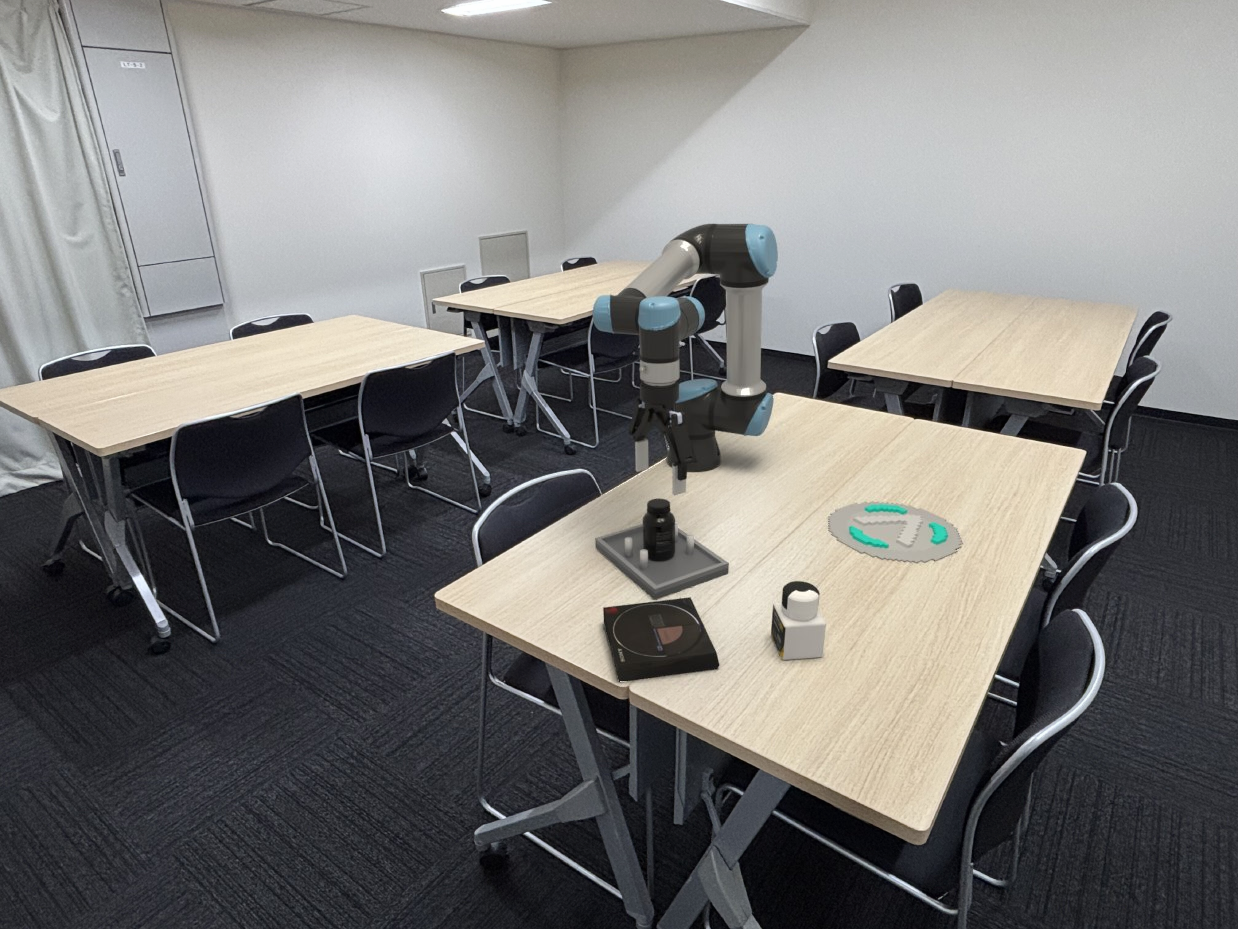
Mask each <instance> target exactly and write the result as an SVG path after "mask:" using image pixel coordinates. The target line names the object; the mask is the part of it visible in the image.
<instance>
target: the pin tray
mask: <svg viewBox="0 0 1238 929" xmlns="http://www.w3.org/2000/svg"><path fill="white" fill-rule="evenodd" d="M594 543H595V545H594V546H595V549H596V550H597V551H598V552H599V553H601V554H602V556H604V557H605V558H606V559H608V561H610V562H611V563H612V564H613V565H614V566H615V567H617V569H619V570H620V571H621V572H622V573H624V574H625V576H627V577H628V578H629V579H630V580H631V581H632V582H633V583H635V584H636V585H637V586H638V587H639V588H640V589H641V590H643V592H645V593H646V594H647V595H649V596H650V597H651V598H652V599H653V601H654V600H655V601H658V600H660V599H662V598H664V597H668V596H670V595H673V594H677V593H679V592H681V591H685V590H687V589H690V588H693V587H695V586H697V585H701V584H704V583H707V582H709V581H713V580H715V579H717V578H720V577H723V576H726V575H728V574H729V568H730V564H729V562H728V561H727V560H725V559H724V558H722V557H721V556H720V555H718V554H716V553H715V552H714V551H713V550H711V549H709V548H708V547H706V546H705V545H703V543H701V542H699V541H698V540H697V539H696V538H695V535H694V534H692V533H691V534H690V533H689V534H688V533H686V532H685V531H684V530H682V529H680V528H679V525H678V523H676V522H675V554H674V556H673V557H672V558H670V559H668V560H664V561H654V560H651V559H648V551H647V550H646V549H643V523H641V524H637V525H634V526H631V527H627V528H624V529H621V530H618V531H617V530H616V531H614V532H611V533H607V534H604V535H601V536H598V537H595V538H594Z"/></svg>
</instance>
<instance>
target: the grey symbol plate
mask: <svg viewBox="0 0 1238 929" xmlns="http://www.w3.org/2000/svg"><path fill="white" fill-rule="evenodd" d="M827 522H828V523H827V530H828V532H829V533H830V535H831V536H832V537H834V538H836V541H837V542H839V543H841V544H843V545H844V546H846V547H848V548H851V549H852V550H853V551H855V552H857V553H859V554H861V555H862V554H866V555H868V556H869V557H870V558H873V559H874V558H877V559H879V560H881V561H882V560H886V561H889V560H890V561H892V562H895V561H897V562H903V563H906V562H908V563H910V564H911V563H914V564H918V563H924V564H926V563H928V562H930V561H934V562H937V561H940V560H942V559H945V558H947V557H950V556H952V555H955V554H957V553H958V552H959V551H958V550H959V549H961V548H962V545H964V542H963V540H962V537H961V535H960V532H959V529H958V527H955V526H954V524H953V523H951V522H949V521H947V519H946V518H944V517H941V516H940V515H937V514H935V513H932V512H930V511H928V510H926V509H923V508H921V507H920V508H917V507H915V506H913V505H911V504H910V505H906V504H904V503H894V502H891V503H890V502H884V501H882V502H879V501H874V500H872V501H869V502H867V501H863V502H861V503H858V502H854V503H851V504H848V505H845V506H842V507H839V508H837V509H834V512H831V513H830V515H829V516H827ZM956 549H957V550H956Z"/></svg>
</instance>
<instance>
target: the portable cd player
mask: <svg viewBox="0 0 1238 929" xmlns="http://www.w3.org/2000/svg"><path fill="white" fill-rule="evenodd" d="M602 609H603V625H604V629H605V633H606V638H607V641H608V645H609V650H610V653H611V654H610V655H611V657H612V660H613V661H612V662H613V666H614V669H615V672H616V676H618V677H617V680H619V681H618V683H621V682H620V681H627V682H633V681H641V680H647V679H648V678H649V679H654V678H663V677H664V678H665V677H670V676H671V677H672V676H678V675H685V674H692V673H701V672H707V671H714V670H718V669H719V667H720V666H721V665H720V661H719V660H720V659H719V657H718V656H719V655H718V653H717V650H716V648H715V646H714V644H713V642H712V640H711V638H710V635H709V633H708V632H707V629H706V627H705V625H704V622H703V621H702V618H701V617H700V614H699V612H698V610H697V608H696V606H695V604H694V602H693V599H692V597H691V596H690V597H682V598H681V597H680V598H673V599H672V598H671V599H665V600H663V599H662V600H655V601H654V600H653V601H647V602H638V603H630V604H629V603H628V604H621V605H613V606H603V607H602Z"/></svg>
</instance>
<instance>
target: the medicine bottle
mask: <svg viewBox="0 0 1238 929" xmlns="http://www.w3.org/2000/svg"><path fill="white" fill-rule="evenodd" d="M781 593H782V594H781V601H778V602H777V601H776V602H773V604H772V613H771V614H772V616H771V629H770V636H771V639H772V641H773V643H774V645H775V647H776V650H777V652H778V654H779V655H780V659H781V660H782V661H787V660H788V661H790V660H801V659H802V660H803V659H805V660H806V659H813V658H814V659H817V658H822V657H823V656H824V646H825V638H826V628H827V622H826V620H825V619H824V617H823V615H822V614H821V613H820V611H819V603H820V591H819V589H818V588H817V587H816V586H815V585H813V584H812V583H809V582H807V581H803V580H802V581H801V580H794V581H790V582H788V583H786V584H785V585H784V586H783V587H782V592H781Z"/></svg>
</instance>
